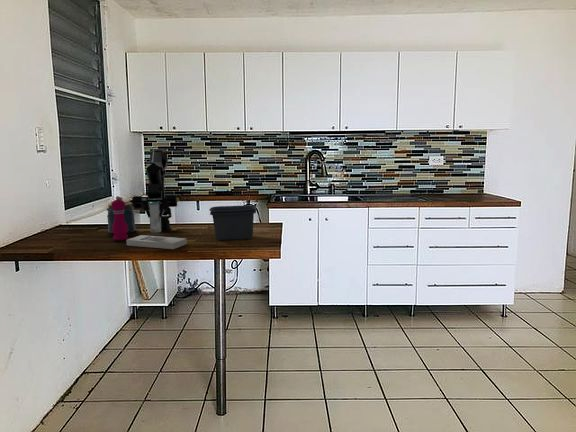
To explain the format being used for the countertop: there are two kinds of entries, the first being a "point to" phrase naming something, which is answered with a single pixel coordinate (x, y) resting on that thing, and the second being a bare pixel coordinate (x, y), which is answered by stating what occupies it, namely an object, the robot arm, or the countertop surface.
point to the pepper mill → (119, 220)
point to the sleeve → (155, 216)
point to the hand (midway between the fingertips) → (154, 217)
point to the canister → (127, 216)
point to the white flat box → (156, 242)
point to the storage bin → (233, 221)
